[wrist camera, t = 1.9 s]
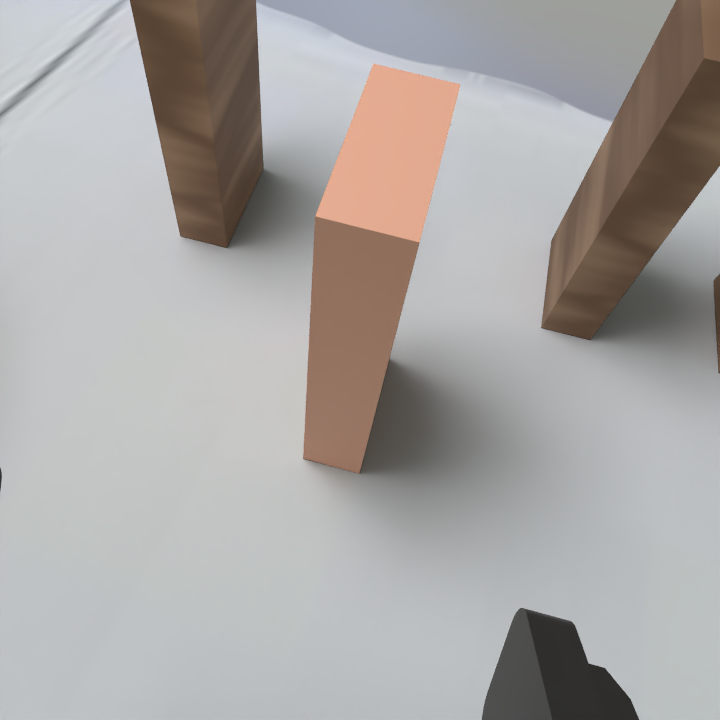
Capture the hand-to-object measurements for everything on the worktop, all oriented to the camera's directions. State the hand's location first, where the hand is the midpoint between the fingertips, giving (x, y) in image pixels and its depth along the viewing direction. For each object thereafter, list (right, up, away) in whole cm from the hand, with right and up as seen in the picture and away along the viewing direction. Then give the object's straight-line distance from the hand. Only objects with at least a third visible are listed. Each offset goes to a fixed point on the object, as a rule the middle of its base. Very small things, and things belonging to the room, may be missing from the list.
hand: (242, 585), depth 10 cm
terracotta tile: (+1, +1, +20) cm, 20 cm away
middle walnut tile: (+13, +7, +24) cm, 29 cm away
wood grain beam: (-6, +12, +25) cm, 29 cm away
